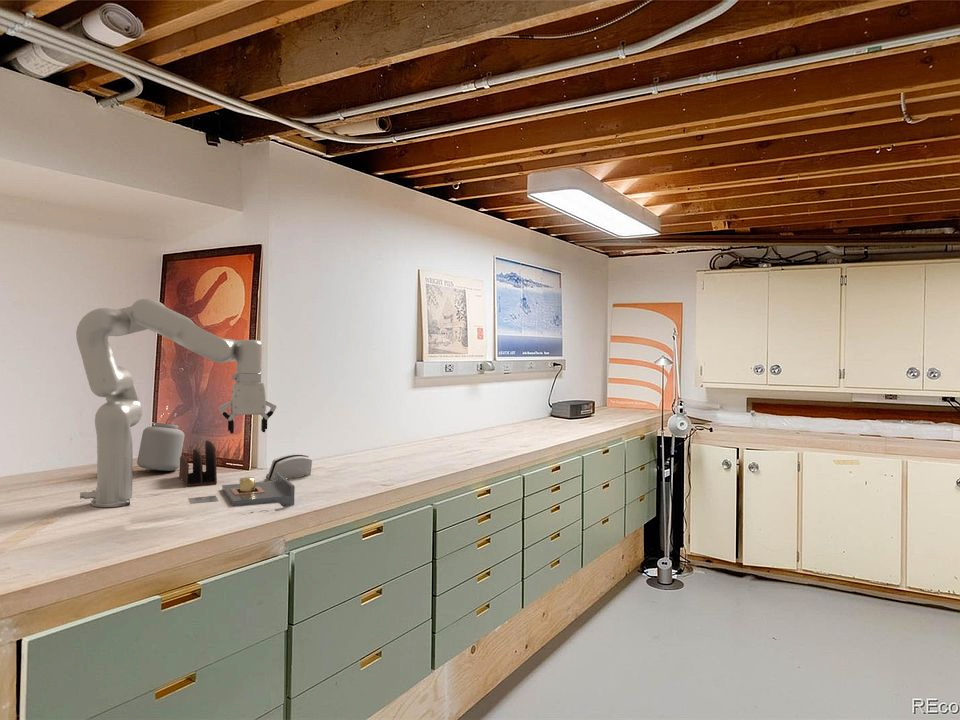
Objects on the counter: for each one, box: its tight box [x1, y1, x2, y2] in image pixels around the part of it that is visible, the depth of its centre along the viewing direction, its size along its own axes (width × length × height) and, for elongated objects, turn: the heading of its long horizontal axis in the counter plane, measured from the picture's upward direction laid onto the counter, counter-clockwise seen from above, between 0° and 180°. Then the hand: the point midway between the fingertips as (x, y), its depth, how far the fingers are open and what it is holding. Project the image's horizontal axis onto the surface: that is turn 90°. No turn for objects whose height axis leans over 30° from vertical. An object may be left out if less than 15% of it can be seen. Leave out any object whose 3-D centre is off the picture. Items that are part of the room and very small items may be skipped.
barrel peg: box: [239, 476, 256, 493], centre depth 208 cm, size 4×4×7 cm
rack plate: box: [221, 472, 296, 507], centre depth 210 cm, size 18×24×6 cm
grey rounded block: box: [265, 453, 313, 481], centre depth 245 cm, size 17×5×10 cm, turn 138°
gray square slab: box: [188, 495, 220, 505], centre depth 202 cm, size 8×8×2 cm
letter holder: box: [178, 439, 218, 488], centre depth 236 cm, size 10×20×14 cm, turn 31°
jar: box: [136, 405, 185, 472], centre depth 252 cm, size 19×15×25 cm
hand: (247, 432), depth 208 cm, fingers open, 9 cm apart
